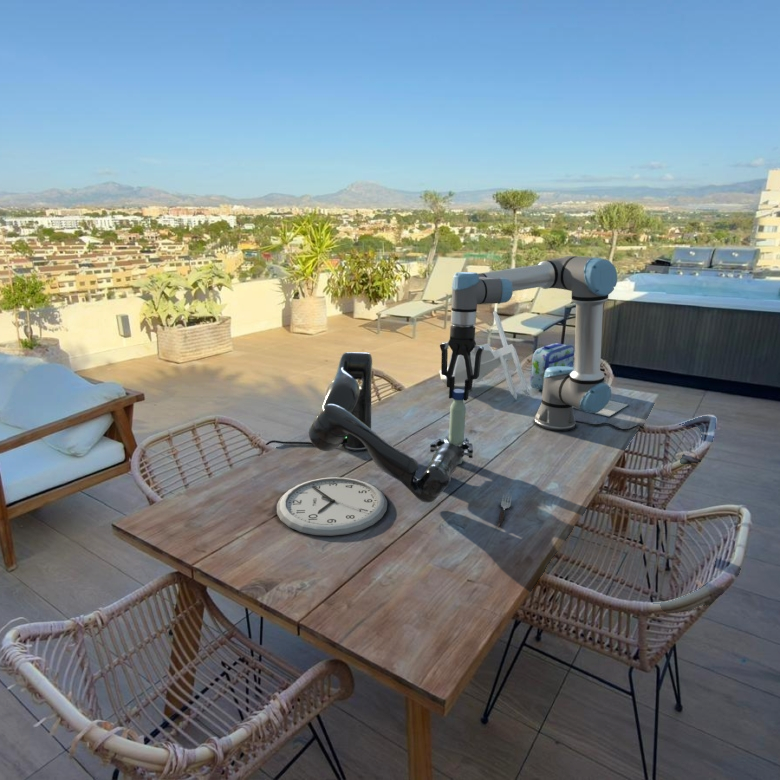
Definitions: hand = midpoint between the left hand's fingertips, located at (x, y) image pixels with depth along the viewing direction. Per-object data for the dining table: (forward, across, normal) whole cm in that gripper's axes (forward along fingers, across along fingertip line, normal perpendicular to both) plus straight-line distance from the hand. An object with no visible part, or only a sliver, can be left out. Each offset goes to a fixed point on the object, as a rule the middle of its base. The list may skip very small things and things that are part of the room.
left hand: (457, 439), depth 171 cm
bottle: (-3, 0, -7) cm, 7 cm away
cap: (-3, 0, +17) cm, 17 cm away
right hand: (-3, 0, +15) cm, 15 cm away
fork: (-31, +19, -7) cm, 37 cm away
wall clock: (-43, -25, -7) cm, 50 cm away
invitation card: (+75, +47, -7) cm, 89 cm away
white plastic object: (+75, -6, -7) cm, 76 cm away
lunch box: (+97, +25, -7) cm, 100 cm away
